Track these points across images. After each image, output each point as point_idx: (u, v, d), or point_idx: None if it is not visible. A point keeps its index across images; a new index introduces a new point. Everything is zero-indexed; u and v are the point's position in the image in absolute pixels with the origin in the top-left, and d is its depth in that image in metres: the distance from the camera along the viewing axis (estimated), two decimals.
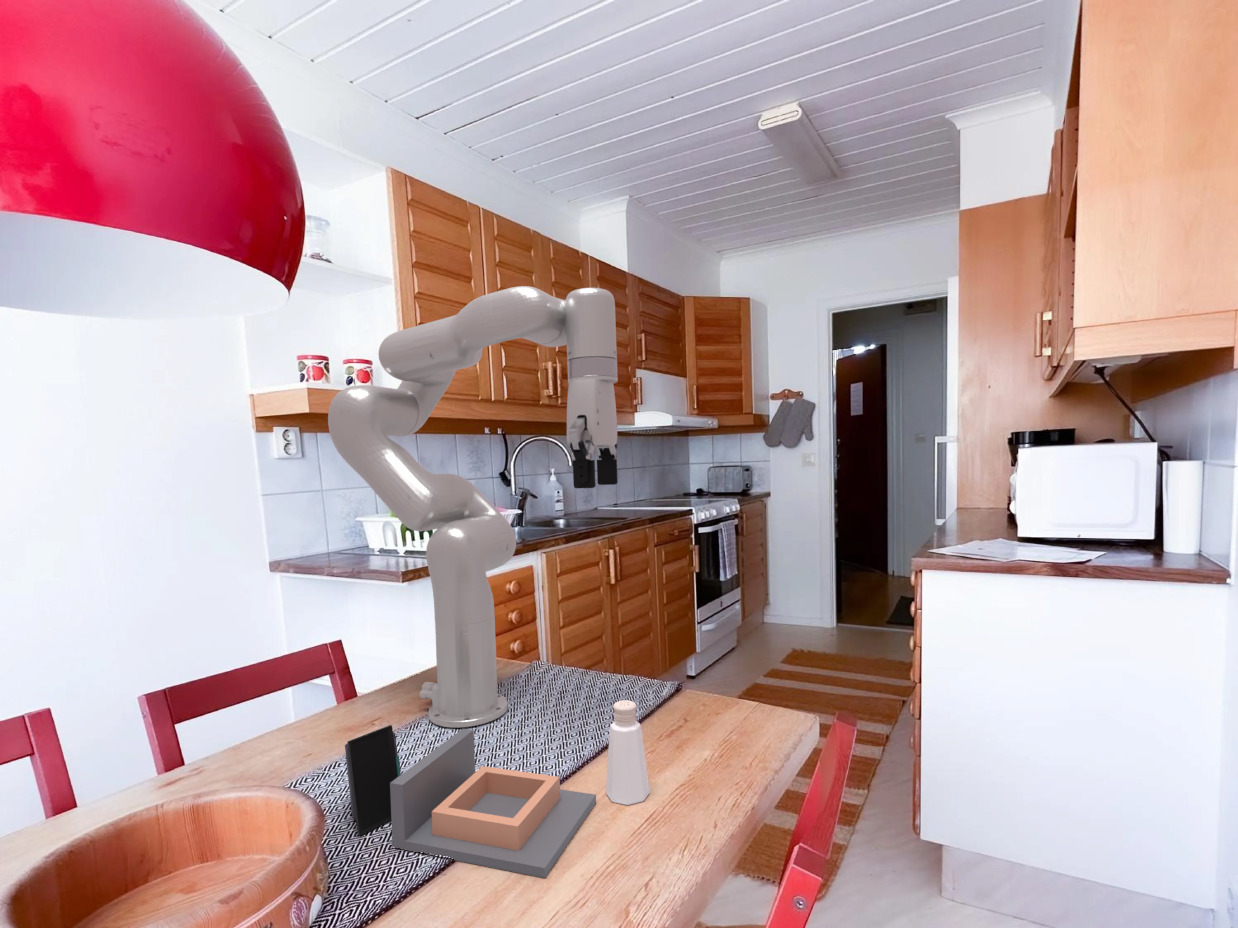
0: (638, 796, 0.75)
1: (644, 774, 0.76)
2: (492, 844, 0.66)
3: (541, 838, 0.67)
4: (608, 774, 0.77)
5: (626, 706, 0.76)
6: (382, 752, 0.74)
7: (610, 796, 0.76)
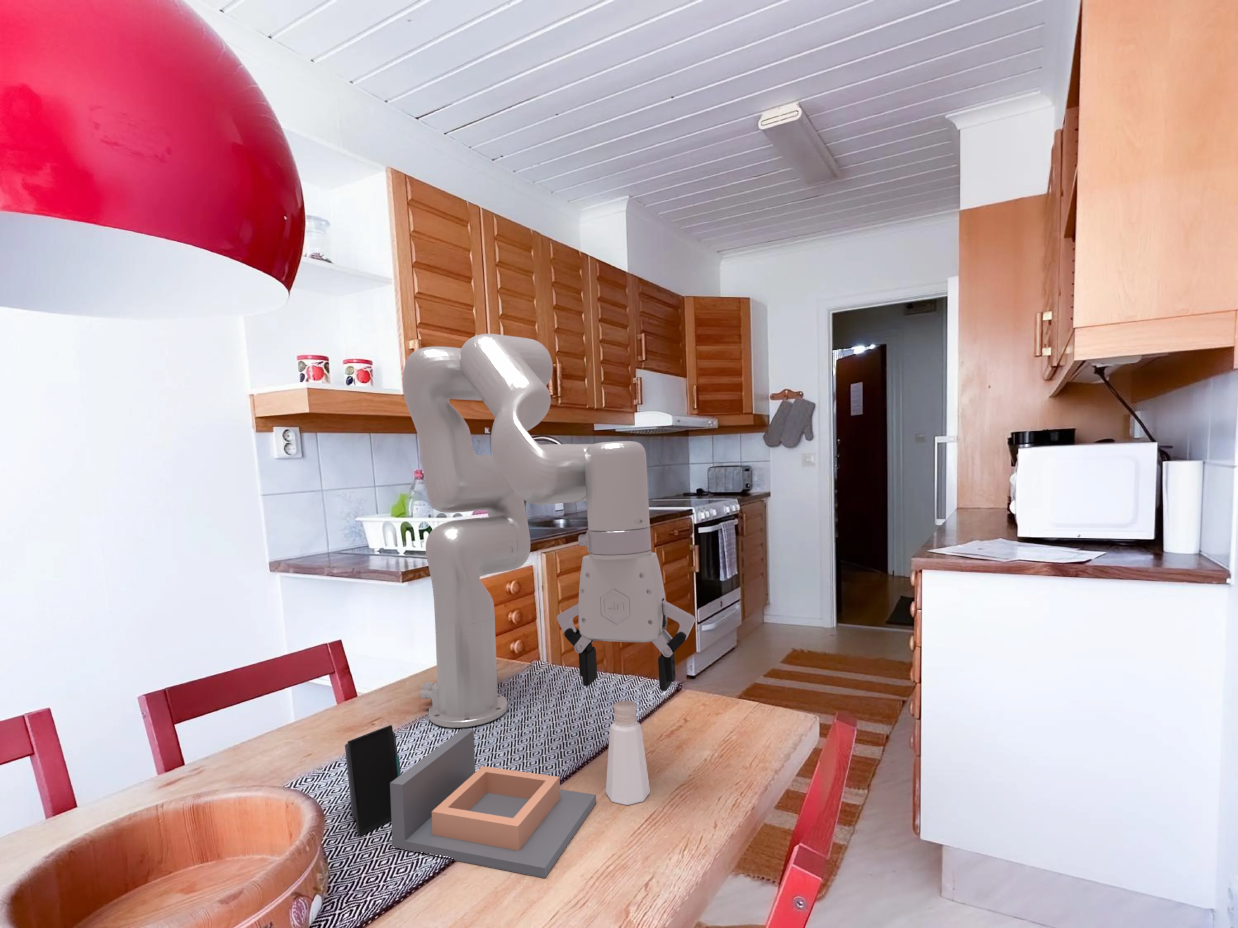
0: (638, 796, 0.75)
1: (644, 774, 0.76)
2: (492, 844, 0.66)
3: (541, 838, 0.67)
4: (608, 774, 0.77)
5: (626, 706, 0.76)
6: (382, 752, 0.74)
7: (610, 796, 0.76)
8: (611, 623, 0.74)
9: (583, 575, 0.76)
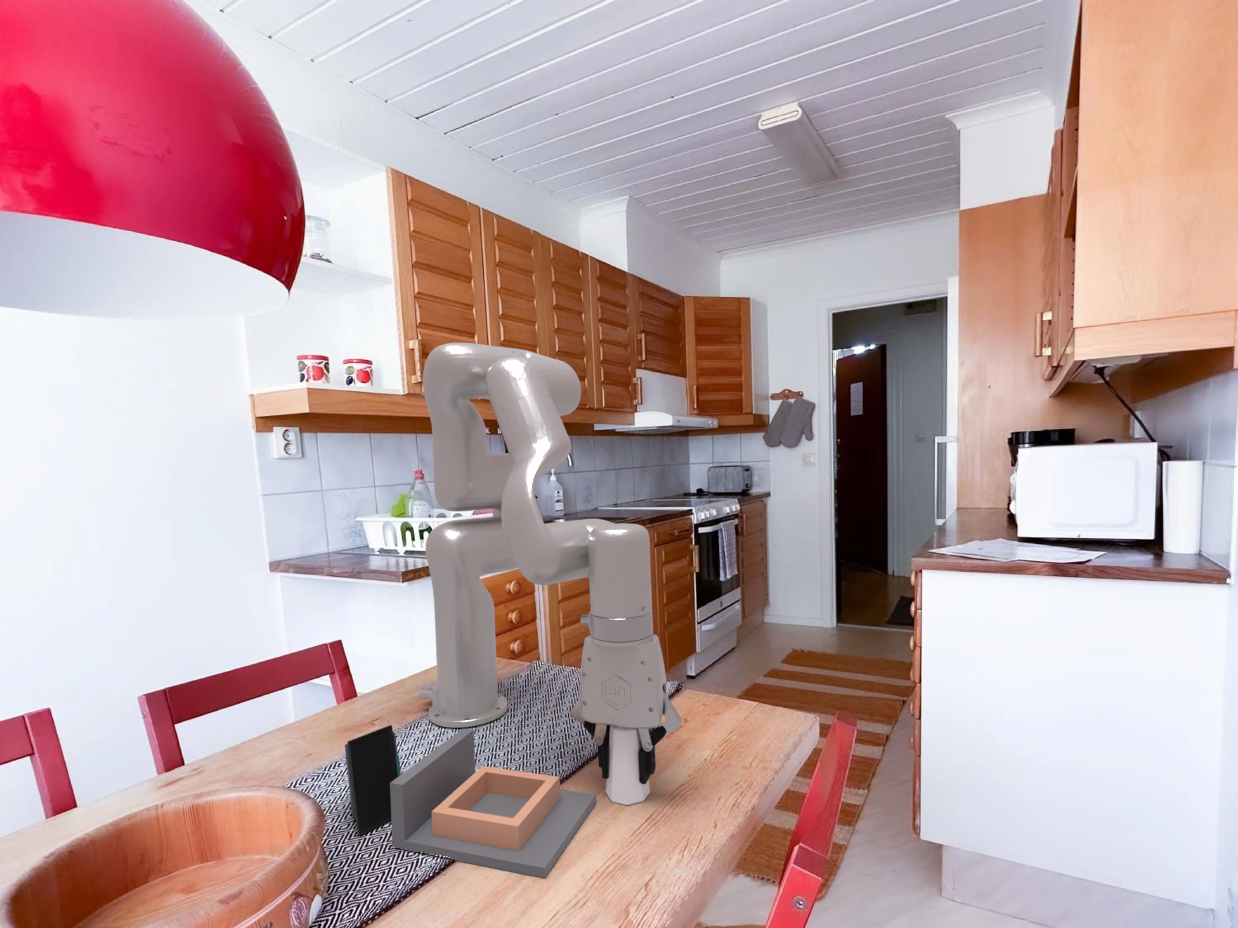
0: (638, 796, 0.75)
1: None
2: (492, 844, 0.66)
3: (541, 838, 0.67)
4: None
5: None
6: (382, 752, 0.74)
7: (610, 796, 0.76)
8: (612, 708, 0.74)
9: (585, 658, 0.76)
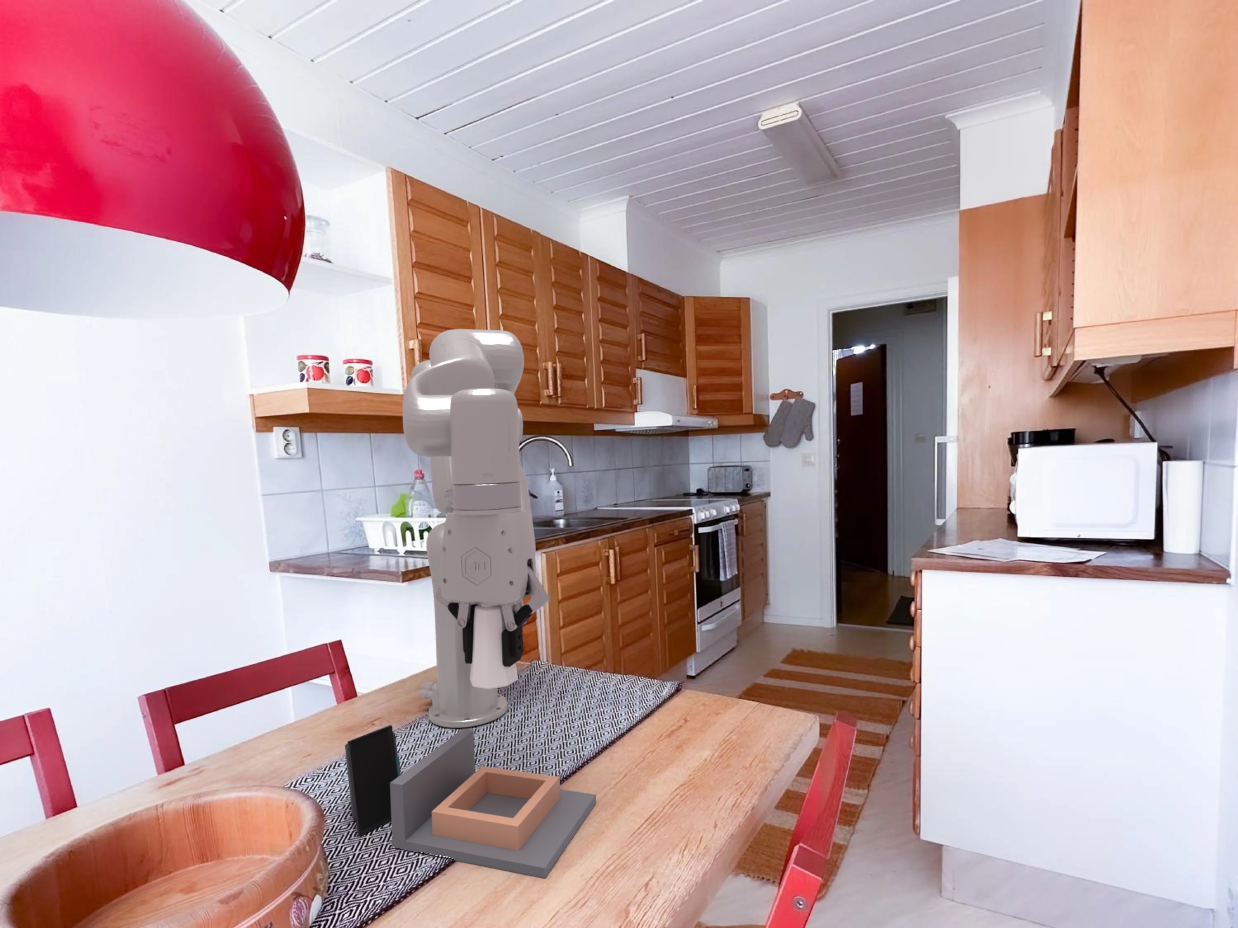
0: (501, 680, 0.69)
1: None
2: (492, 844, 0.66)
3: (541, 838, 0.67)
4: (472, 659, 0.71)
5: None
6: (382, 752, 0.74)
7: (472, 681, 0.70)
8: (472, 584, 0.69)
9: (445, 532, 0.70)
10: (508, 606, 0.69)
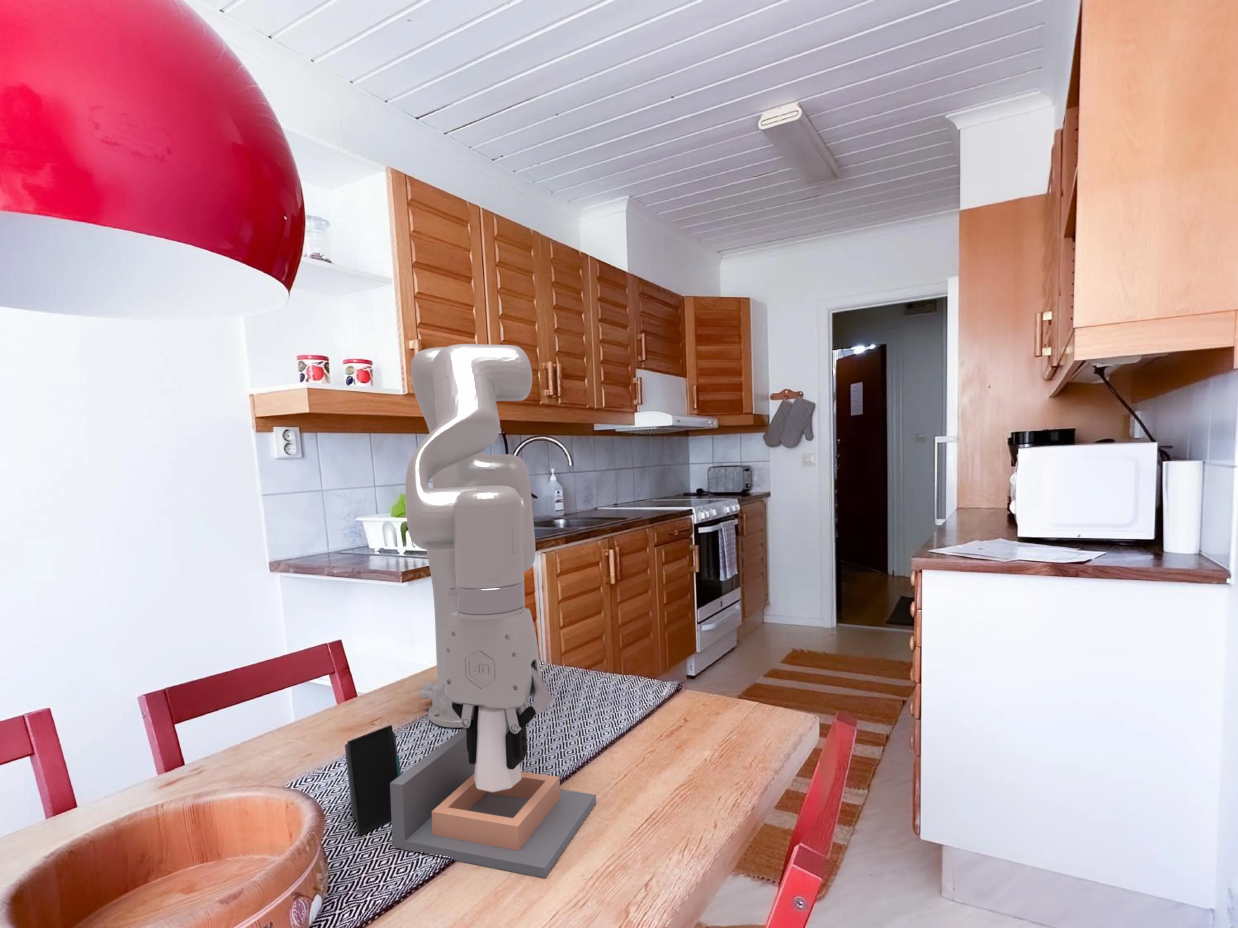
0: (505, 782, 0.69)
1: None
2: (492, 844, 0.66)
3: (541, 838, 0.67)
4: (476, 759, 0.71)
5: None
6: (382, 752, 0.74)
7: (476, 783, 0.70)
8: (476, 686, 0.69)
9: (449, 633, 0.70)
10: (512, 708, 0.69)
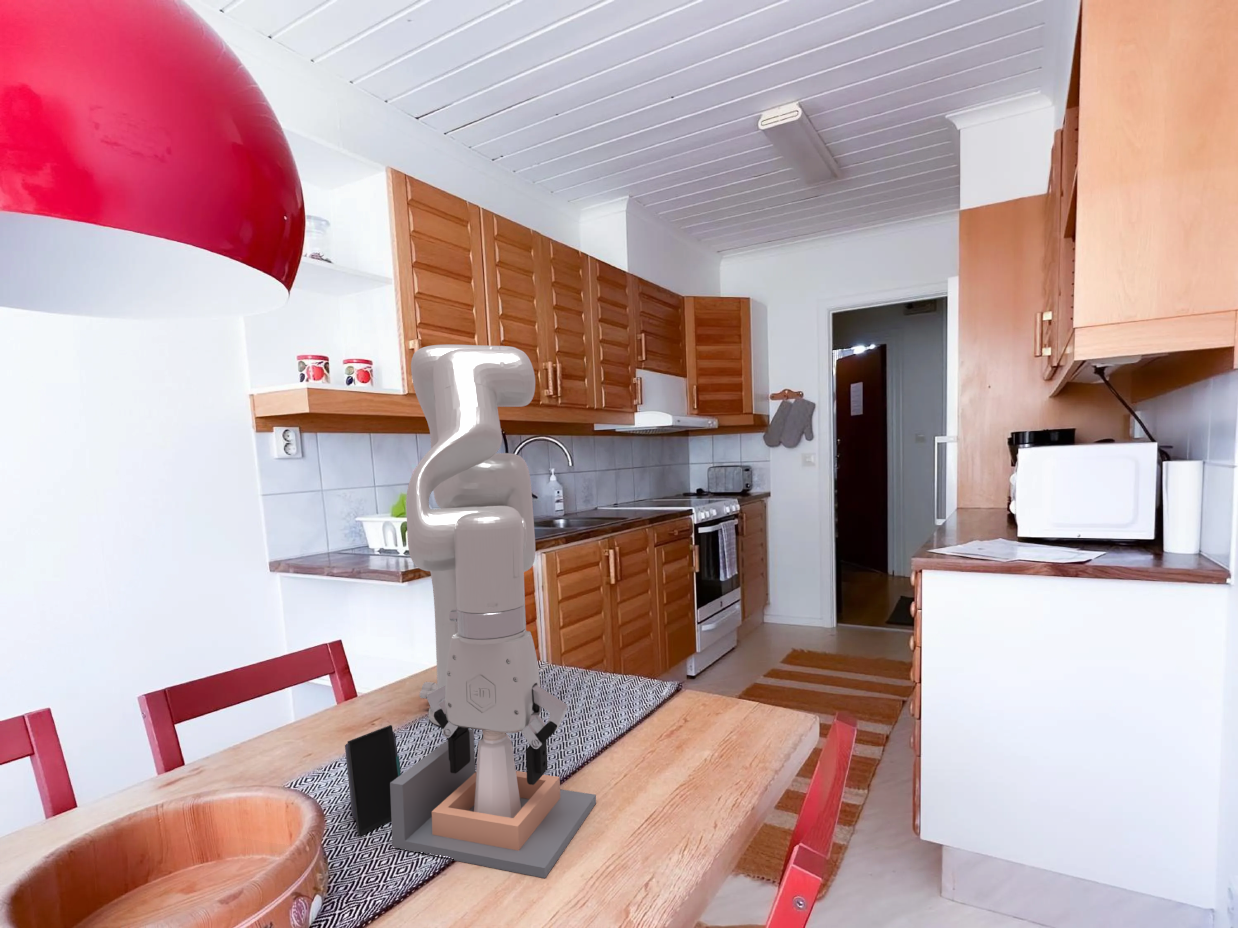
0: None
1: (514, 793, 0.71)
2: (492, 844, 0.66)
3: (541, 838, 0.67)
4: (476, 794, 0.71)
5: None
6: (382, 752, 0.74)
7: None
8: (477, 710, 0.69)
9: (450, 657, 0.70)
10: None
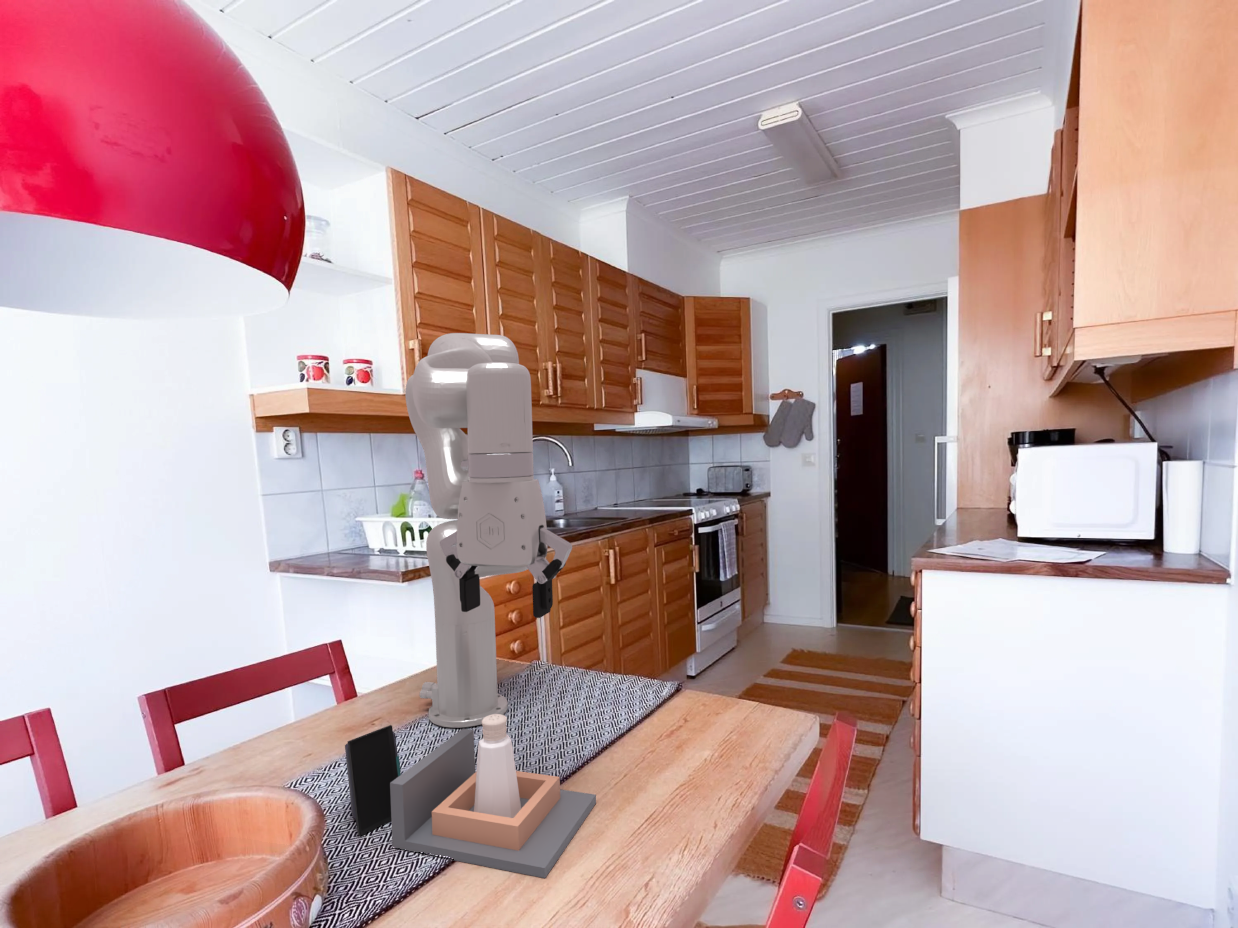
0: None
1: (514, 793, 0.71)
2: (492, 844, 0.66)
3: (541, 838, 0.67)
4: (476, 794, 0.71)
5: (494, 721, 0.71)
6: (382, 752, 0.74)
7: None
8: (486, 548, 0.73)
9: (461, 499, 0.74)
10: (531, 562, 0.72)
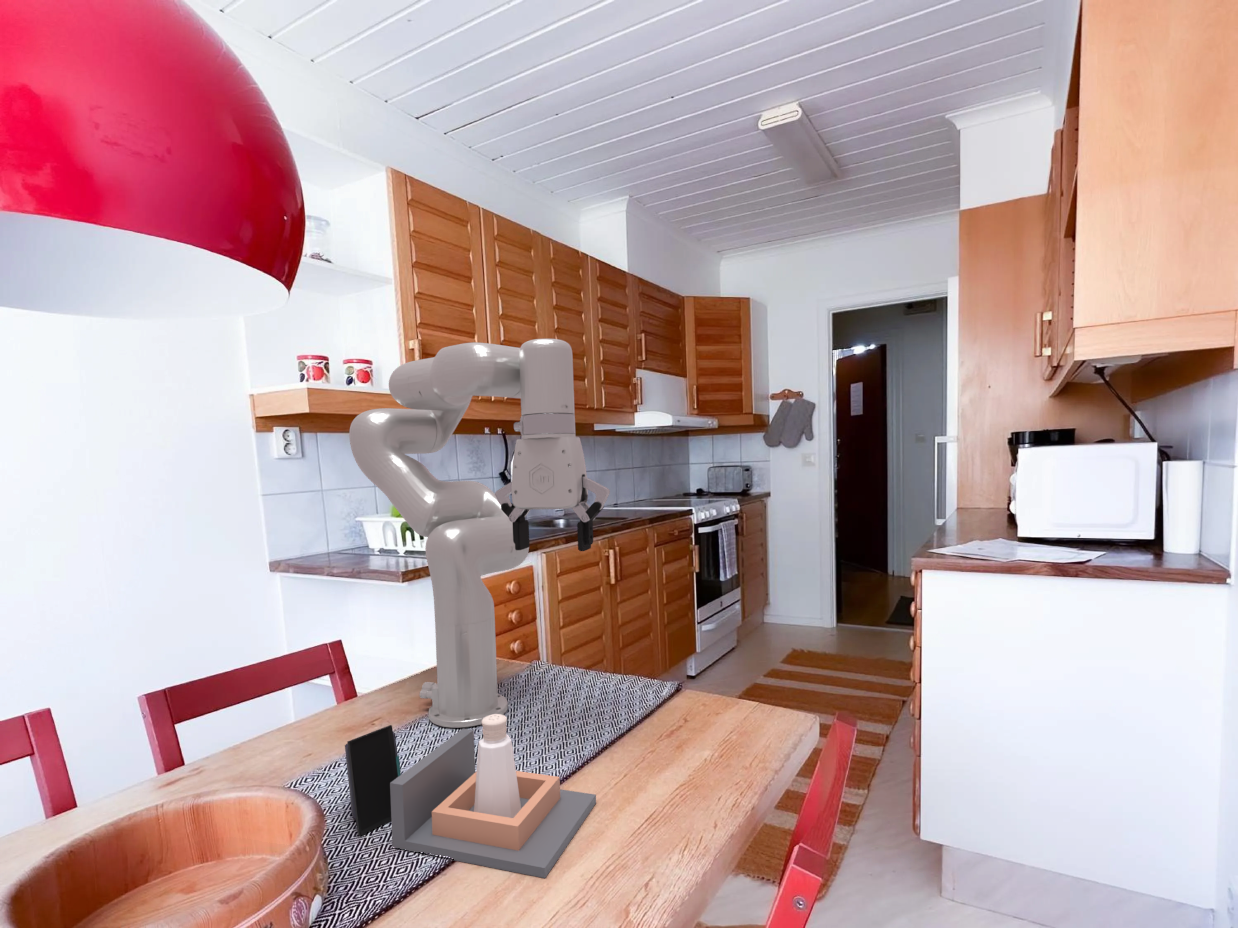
0: None
1: (514, 793, 0.71)
2: (492, 844, 0.66)
3: (541, 838, 0.67)
4: (476, 794, 0.71)
5: (494, 721, 0.70)
6: (382, 752, 0.74)
7: None
8: (538, 493, 0.87)
9: (516, 454, 0.88)
10: (576, 505, 0.87)
